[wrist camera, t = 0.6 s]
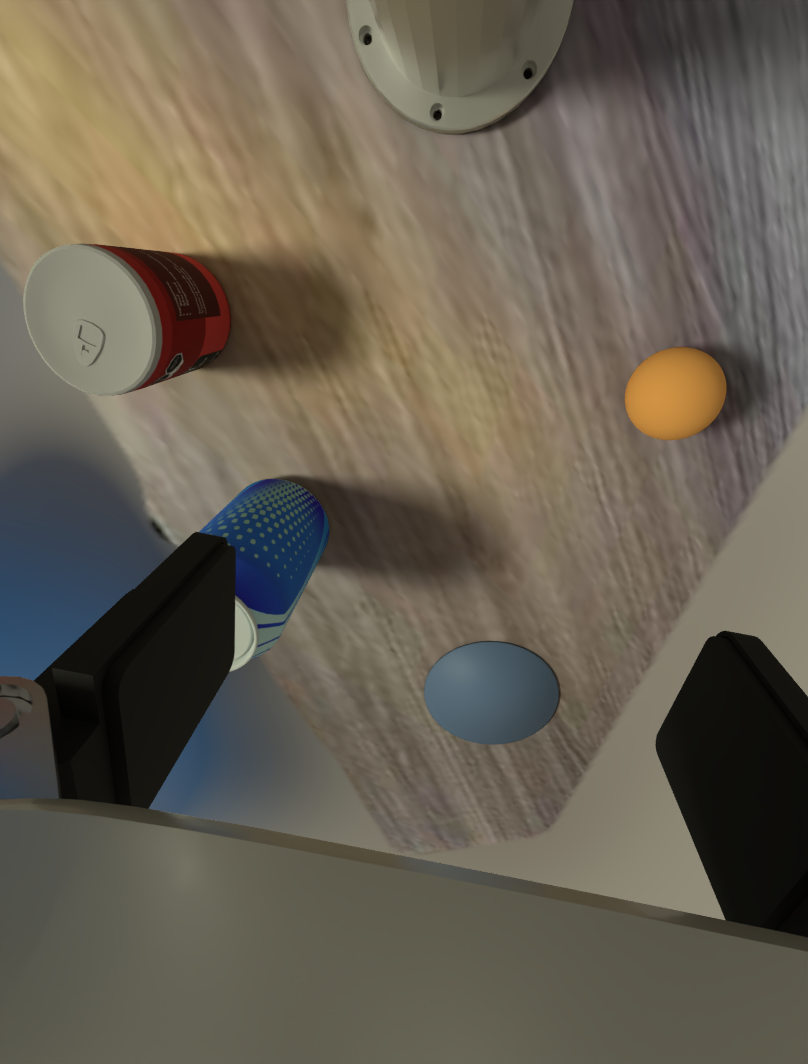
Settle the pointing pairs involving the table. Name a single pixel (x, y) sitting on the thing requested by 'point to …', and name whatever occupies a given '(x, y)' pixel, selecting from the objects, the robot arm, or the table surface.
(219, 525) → the beer can
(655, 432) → the ball
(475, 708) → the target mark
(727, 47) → the table surface
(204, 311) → the canned food
